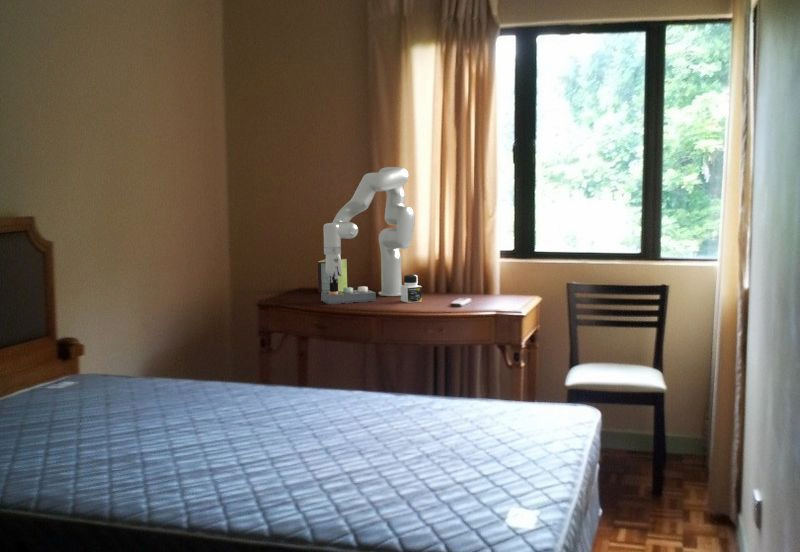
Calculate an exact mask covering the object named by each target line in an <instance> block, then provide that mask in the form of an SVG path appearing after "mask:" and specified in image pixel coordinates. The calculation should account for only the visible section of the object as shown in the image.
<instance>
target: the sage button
mask: <svg viewBox="0 0 800 552" xmlns="http://www.w3.org/2000/svg"><path fill="white" fill-rule="evenodd" d="M353 290H354V287H351V286H349V287H348V286H347V288H343V293H353Z"/></svg>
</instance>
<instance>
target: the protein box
mask: <svg viewBox="0 0 800 552" xmlns="http://www.w3.org/2000/svg"><path fill="white" fill-rule="evenodd" d="M347 263H348V262H347V258H341V267H342V275H341V276H338V279H337V289H338V291H343V288H347V287H348V271H347V269H348V267H347V265H348V264H347ZM317 279H318V280H317V285H318V294H321V292H329V291H330V284H329V283H331V282H329V276H328V275H327V274H326V258H325V259H321V260H319V261H317Z"/></svg>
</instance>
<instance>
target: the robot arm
mask: <svg viewBox="0 0 800 552" xmlns="http://www.w3.org/2000/svg"><path fill="white" fill-rule="evenodd" d="M409 178H410V177H409V171H408V170H407V169H406V168H404V167H402V166H395V167H394V166H388V167H386V166H385V167H383V168H380V170H379V171H378V172H368V173H365V174H364V175H363V176H362V179H361V180H360V182H359V184H358V186H357V188H356V190H355V192H354V194H353V196H352V197H351V199H350V200H349V201H348V202H346V203H345V204H344V206H342V207H341V208H340V209H339V211H338V212H337V213H336V215H335V217H334V219H333V220H332V222H329V223H328V222H327V223H325V224H324V225H323V226H322V227H323V254H324V255H325V259H326V274H327V275H328V276H329V282H331V283H329V284H330V291H331V292H336V291H338V289H337V279H338V276H341V275H342V267H341V259H342V258H341V254H342V246H341V245H342V243H341V241H342V240H341V239H347V240H348V239H354V238H356V236H357V235H358V234H359V227H358V226H357V224H356V223H354V222H351V220H352V219H353V218H354V217H355V216H357V215H358V214H360V213H363V212H364V211H366V210H367V209H368V208H369V206H370V204H371V203H372V201H373V199H374V197H375V195H376V192H385V193H386V202H385V211H384V221H385V223H386V224H387V225H389V226H396V228H395V227H386V228H383V229H382V230H381V231H380V232H379V234H378V244H379V249H380V261H381V262H380V266H381V267H380V269H381V291H379V292H378V295H379V296H380V297H401V285H403V284H402V282H403V281H402V278H403V277H402V254H401V251H400V250H406V249H408V248H409V247H410V246H411V244H412V242H413V237H414V231H415V230H414V229H415V223H416V222H415V221H416V215H415V212H414V209H413V208H412V207H411V206H408V205H405V199H406V198H405V196H406V195H405V194H406V193H405V189H404V187H403V186H404V185H406V184H407V182H409Z"/></svg>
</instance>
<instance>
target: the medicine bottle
mask: <svg viewBox="0 0 800 552" xmlns="http://www.w3.org/2000/svg"><path fill="white" fill-rule="evenodd" d="M418 277H419V276H418V275H416V274H406V275H404V277H403V282H404V283H403V284H402V285H401V296H400V302H403V303H408V304H409V303H410V304H411V303H412V304H413V303H421V302H423V300H422V299H423V298H422V297H423V296H422V295H423V291H422V288H423V287H422V285H418V282H419V281H418V280H419V279H418Z"/></svg>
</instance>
